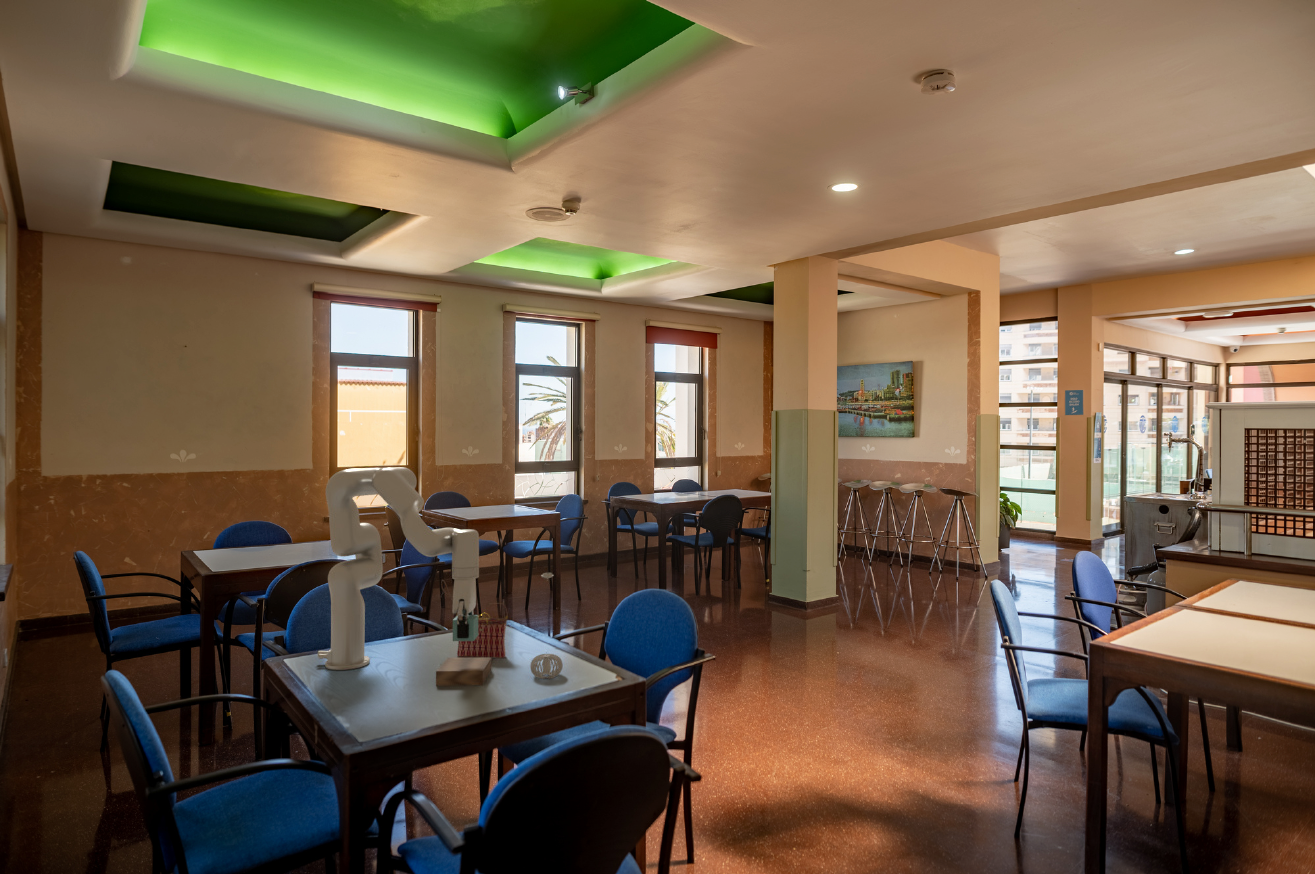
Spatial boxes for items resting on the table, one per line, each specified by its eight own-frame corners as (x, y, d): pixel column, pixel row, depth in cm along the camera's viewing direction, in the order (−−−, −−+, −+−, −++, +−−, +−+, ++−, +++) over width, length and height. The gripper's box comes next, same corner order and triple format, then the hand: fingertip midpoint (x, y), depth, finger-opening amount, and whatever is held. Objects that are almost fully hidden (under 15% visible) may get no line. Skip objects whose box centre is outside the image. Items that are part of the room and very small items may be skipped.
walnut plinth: (435, 685, 205) (436, 671, 205) (447, 671, 218) (447, 657, 218) (482, 684, 206) (482, 670, 206) (491, 670, 219) (491, 657, 219)
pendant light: (568, 673, 216) (569, 572, 216) (551, 683, 208) (551, 577, 208) (542, 669, 220) (542, 569, 220) (523, 678, 212) (524, 574, 212)
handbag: (446, 653, 236) (446, 576, 237) (509, 655, 234) (509, 577, 235) (437, 660, 229) (438, 580, 229) (502, 662, 227) (502, 581, 227)
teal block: (452, 641, 209) (452, 619, 209) (457, 635, 215) (457, 615, 215) (473, 640, 209) (473, 619, 209) (478, 635, 215) (478, 614, 215)
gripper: (459, 567, 221) (459, 627, 220) (445, 577, 203) (445, 643, 203) (484, 567, 221) (484, 627, 221) (472, 577, 204) (472, 642, 203)
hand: (465, 634), depth 212 cm, fingers closed on teal block, 6 cm apart
